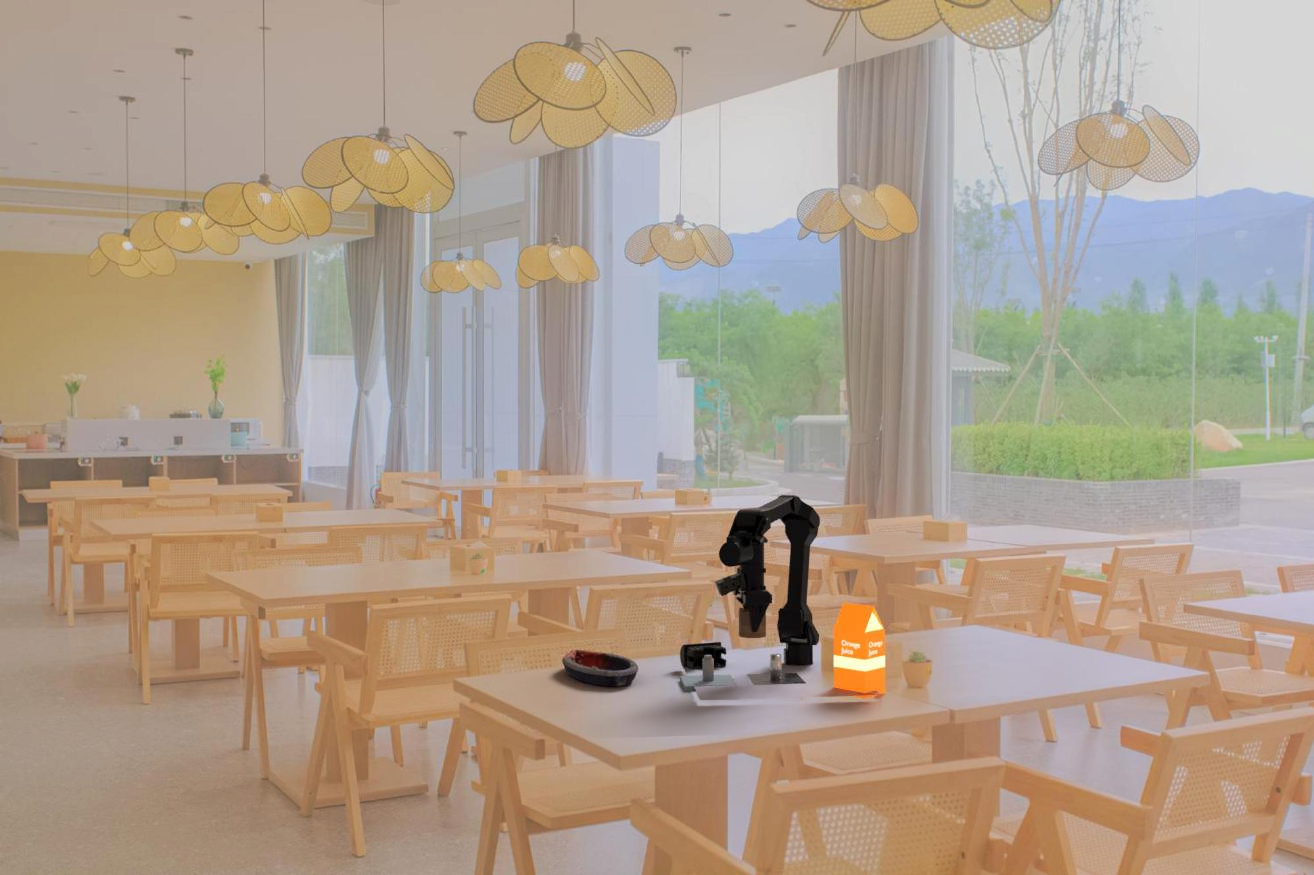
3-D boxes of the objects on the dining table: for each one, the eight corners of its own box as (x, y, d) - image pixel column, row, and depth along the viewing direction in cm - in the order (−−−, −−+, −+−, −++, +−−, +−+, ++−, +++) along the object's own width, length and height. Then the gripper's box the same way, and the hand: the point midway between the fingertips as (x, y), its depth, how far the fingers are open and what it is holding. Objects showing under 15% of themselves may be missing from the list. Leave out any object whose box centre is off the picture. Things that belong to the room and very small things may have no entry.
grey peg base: (730, 679, 298) (730, 650, 298) (737, 690, 286) (737, 659, 286) (680, 680, 297) (680, 651, 297) (685, 691, 285) (684, 660, 285)
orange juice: (854, 687, 288) (853, 600, 287) (885, 693, 281) (885, 604, 281) (833, 692, 282) (832, 604, 282) (865, 698, 276) (864, 608, 276)
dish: (591, 693, 285) (591, 671, 285) (548, 669, 313) (548, 649, 313) (653, 687, 291) (653, 665, 291) (606, 664, 320) (606, 645, 319)
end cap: (716, 666, 314) (716, 640, 314) (728, 671, 308) (727, 644, 308) (679, 669, 311) (679, 642, 311) (690, 675, 304) (690, 647, 304)
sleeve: (762, 633, 295) (762, 605, 295) (767, 637, 289) (767, 609, 289) (737, 634, 294) (737, 606, 294) (741, 638, 288) (741, 609, 288)
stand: (796, 678, 299) (796, 649, 299) (806, 688, 287) (806, 658, 287) (746, 679, 298) (746, 650, 298) (754, 689, 286) (754, 660, 286)
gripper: (712, 559, 300) (712, 624, 300) (723, 567, 282) (724, 636, 281) (757, 559, 301) (757, 623, 301) (772, 567, 283) (772, 636, 283)
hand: (752, 630), depth 292 cm, fingers closed on sleeve, 6 cm apart
